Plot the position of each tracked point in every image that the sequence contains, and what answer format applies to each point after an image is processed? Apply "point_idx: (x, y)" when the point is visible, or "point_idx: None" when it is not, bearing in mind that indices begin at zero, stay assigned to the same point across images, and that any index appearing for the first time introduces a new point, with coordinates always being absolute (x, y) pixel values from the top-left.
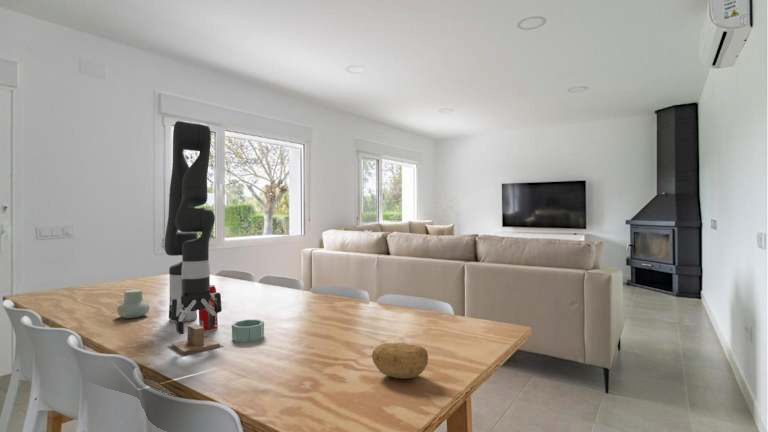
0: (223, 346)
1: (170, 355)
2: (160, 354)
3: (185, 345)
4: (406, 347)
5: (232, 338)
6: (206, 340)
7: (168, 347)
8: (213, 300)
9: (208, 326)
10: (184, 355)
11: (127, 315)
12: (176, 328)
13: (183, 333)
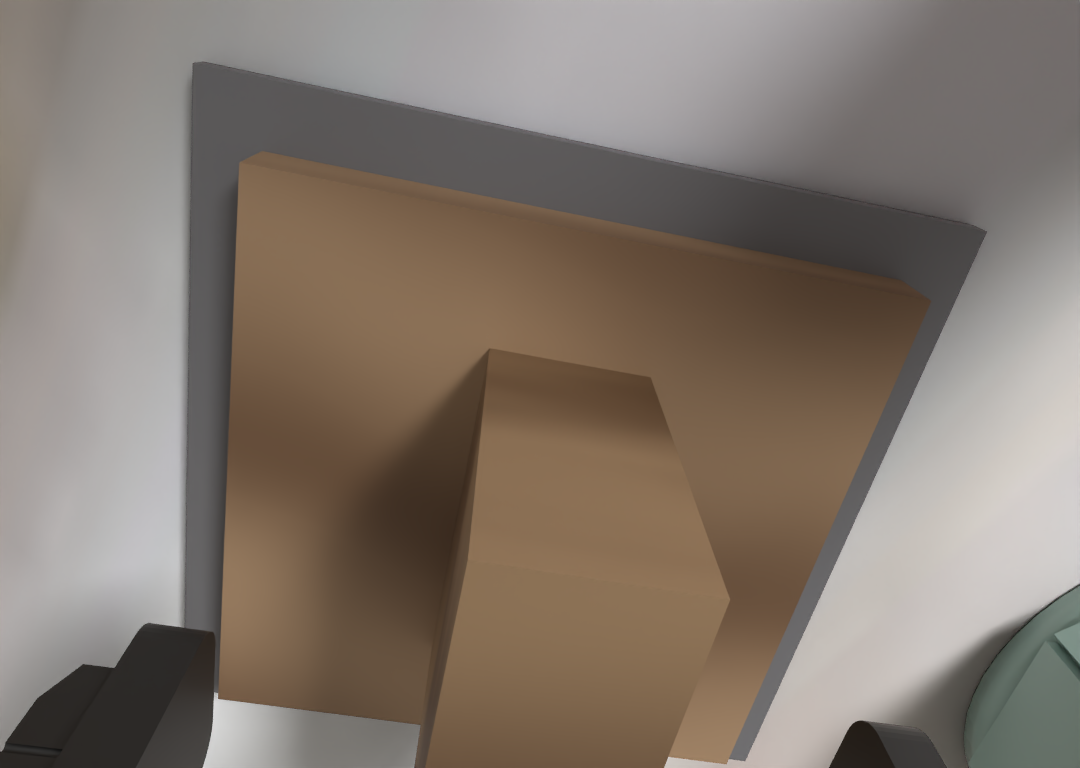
0: (745, 748)
1: (121, 472)
2: (8, 309)
3: (361, 494)
4: None
5: (1038, 657)
6: (727, 536)
7: (199, 141)
8: None
9: (866, 733)
10: None
11: None
12: (3, 762)
13: (201, 762)
